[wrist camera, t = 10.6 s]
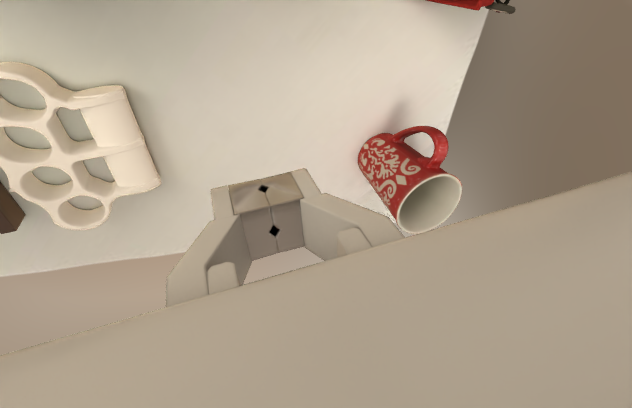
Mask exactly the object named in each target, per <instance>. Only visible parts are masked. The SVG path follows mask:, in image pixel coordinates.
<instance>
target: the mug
mask: <svg viewBox="0 0 632 408" xmlns="http://www.w3.org/2000/svg"><path fill="white" fill-rule="evenodd" d="M419 132H424V133H427V134H428V135H429V136H430V137H431V138H432V140H433V142H434V147H435V149H434V154H433V156H432V157H431V158H428V157H424V156H423V155H421V154H420V153H419V152H417V151H416V150H414V149H413V148H411V147H410V146H409V145H407V144H406V143H404V139H405V138H406V137H408V136H410V135H413V134H416V133H419ZM447 152H448V141H447V138H446V136H445V135H444V134H443V133H442V132H441V131H440V130H438V129H436V128H434V127H430V126H416V127H411V128H408V129H405V130H402V131H400V132H398V133H396V134H394V135H393V134H389V133H382V134H378V135H376V136H374V137H372V138H371V139H369V140H368V141H367V142H366V143H365V144H364V146H363V147H362V149H361V150H360V153H359V156H358V165H359V168H360V170H361V171H362V173H363V174H364V176H365V177H366V178H367V180H368V181H369V183H370V184H371V185H372V187H373V188H374V190H375V191H376V193H377V194H378V195H379V197H380V198H381V200H382V201H383V202H384V204H385V205H386V207H387V208H388V210H389V211H390V212H391V214H392V215H393V217H394V218H395V219H396V222H397V225H398V226H399V227H400V229H402V230H403V231H405V232H407V233H411V234H418V233H423V232H426V231H429V230H432V229H433V228H435V227H437V226H438V225H440V224H442V223H443V222H444V221H445V220H446V219H447V218H448V217H449V216H450V215H451V214H452V213H453V212H454V210H455V209H456V207H457V206H458V204H459V202H460V199H461V196H462V184H461V182H460V180H459V179H458V178H457V177H456V176H454V175H452V174H448V173H447V172H445V171H444V170H443V169H441V168H440V164H441V163H442V162H443V160H444V159H445V157H446V155H447Z"/></svg>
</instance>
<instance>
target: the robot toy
mask: <svg viewBox="0 0 632 408" xmlns="http://www.w3.org/2000/svg"><path fill="white" fill-rule="evenodd" d="M427 1H432V2H437V3H442V4H447V5H452V6H457V7H462V8H467V9H473V10H480V8H481V7H483V6H485V8H487V9H490V10H495V11H496V12H503V13H509V14H512V13H514V12H515V8H514V7H512V6H509V5H507V4H508V3H509V1H510V0H506V1H505V2H504V3H502V2H501V1H500V0H496V2H497V3H495V2H494V0H427Z"/></svg>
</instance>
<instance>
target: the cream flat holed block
mask: <svg viewBox="0 0 632 408" xmlns="http://www.w3.org/2000/svg"><path fill="white" fill-rule="evenodd" d="M0 79H10V80H17V81H22V82H25V83H27V84H29V85H31V86H32V87H34V88H35V89H37V90H38V91H39V92H40V93H41V95H42V96H43V98H44V100H45V102H46V109H41V110H34V109H24V108H19V107H16V106H14V105H12V104H10V103H9V102H7V101H6V100H5V99H3V98H2V97H1V95H0V167H1V168H2V169H3V170H4V172H5V173H6V175H7V177H8V180H9V187H10V189H9V190H8V192H17V193H18V194H19V195H20V196H21V197H23V198H24V199H25V200H28V201H31V202H33V203H36V204H38V205H40V206H41V207H43V208H44V209H45V210H46V211H47V212H48V213H49V214H50V215H51V217H52V220H53V223H55V224H56V225H58V226H61V227H63V228H67V229H71V230H88V229H92V228H95V227H98V226H99V225H101V224H103V223H104V222H105V221H106V220H107V218H108V217H109V215H110V211H111V207H112V203H113V201H114V200H115V199H116V198H117V197H121V196H126V195H131V194H139V193H143V192H147V191H150V190H152V189H154V188H157V187H158V186H160V185H161V181H160V176H159V174H158V173H157V171H156V168H155V166H154V164H153V161H152V159H151V156H150V154H149V151H148V149H147V146H146V144H145V139H144V136H143V135H142V134H141V131H140V129H139V126H138V124H137V121H136V119H135V116H134V114H133V111H132V109H131V107H130V104H129V102H128V99H127V97H126V91H125V89H124V88H123V87H122V86H120V85H109V86H100V87H94V88H89V89H85V90H81V91H76V92H74V91H71V90H69V89H66V88H63V87H61V86H59V85H58V84H57V83H56V82H55V81H54V80H53V79H52V78H51V77H50V76H49V75H48V74H46V73H45V72H43V71H41V70H40V69H38V68H36V67H33V66H31V65H28V64H24V63H19V62H4V63H0ZM60 107H64V108H67V109H70V110H76V109H79V110H80V112H81V114H82V116H83V118H84V120H85V122H86V124H87V126H88V128H89V130H90V132H91V134H92V136H93V138H94V139H93V140H87V141H82V142H77V141H74V140H72V139H71V138H69V136H68V134H67V133H66V131H65V129H64V127H63V125H62V124H61V122H60V120H59V118H58V116H57V114H56V112H57V111H58V109H59V108H60ZM7 126H13V127H25V128H30V129H33V130H36V131H38V132H39V133H41V134H42V135H44V136H45V137H46V138H47V139H48V141H49V142H50V144H51V148H49V149H30V148H25V147H22V146H20V145H18V144H16V143H14V142H13V141H12V140H10V139H9V137H8V136H7V135H6V133H5V130H4V127H7ZM102 156H103V158H104V160H105V162H106V164H107V166H108V168H109V170H110V172H111V174H112V176H113V178H114V180H115V181H114V182H111V183H109V182H105V181H104V180H101V179H99V178H96V177H93V176H91V175H90V174H89V173H88V171H87V169H86V167H85V165H84V163H83V162H82V160H87V159H92V158H97V157H102ZM43 166H50V167H55V168H58V169H60V170H62V171H64V172H66V173H67V174H68V175H69V176H70V177H71V179H72V181H70V182H68V183H66V184H63V185H49V184H46V183H43V182H41V181H40V180H38V179H37V178H36V177H35V176H34V175H33V173H32V171H31V170H33V169H36V168H38V167H43ZM76 196H90V197H93V198H96V199H98V200H99V201H100V202H101V203H102V204H103V205H102V206H100V207H98V208H96V209H93V210H81V209H78V208H75V207H73V206H72V205H71V204H70V203H69V202H68V201H67V200H69V199H71V198H73V197H76Z"/></svg>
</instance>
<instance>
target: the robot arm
mask: <svg viewBox="0 0 632 408" xmlns="http://www.w3.org/2000/svg"><path fill="white" fill-rule="evenodd" d="M228 188H229V189H228ZM210 192H211V199H212V206H213V212H214V219H215V220H213V221H210V222H209V223H208V224H207V226H206V227H205V228H204V230H203V231H202V232H201V233H200V235H199V236H198V237H197V239H196V240H195V241H194V242H193V244H192V245H191V246H190V248H189V249H188V250H187V251H186V253H185V254H184V255H183V257H182V258H181V259H180V261H179V262H178V263H177V264H176V266H175V267H174V268H173V269H172V271H171V272H170V274H169V275H168V276H167V285H166V307H165V308H162V309H158V310H155V311H152V312H148V313H145V314H141V315H138V316H135V317H131V318H128V319H124V320H121V321H117V322H114V323H110V324H107V325H104V326H100V327H97V328H93V329H90V330H87V331H83V332H79V333H76V334H73V335H69V336H66V337H62V338H59V339H55V340H53V341H49V342H45V343H42V344H38V345H35V346H31V347H28V348H25V349H21V350H18V351H14V352H11V353H7V354H4V355H1V356H0V408H632V172H628V173H625V174H622V175H618V176H615V177H612V178H608V179H605V180H602V181H598V182H594V183H591V184H588V185H584V186H581V187H577V188H574V189H570V190H567V191H564V192H560V193H557V194H553V195H550V196H546V197H543V198H540V199H536V200H533V201H529V202H526V203H522V204H519V205H516V206H512V207H509V208H505V209H502V210H499V211H495V212H492V213H488V214H485V215H481V216H478V217H475V218H471V219H467V220H464V221H461V222H457V223H454V224H450V225H447V226H443V227H440V228H437V229H433V230H430V231H426V232H423V233H419V234H416V235H413V236H409V237H406V238H405V237H404V236H403V234H402V233H401V232H400V231H399V230H398V228H397V227H396V226H395V225H394V223H393V222H392V221H391V220H390V218H389V217H387V216H384V215H382V214H379V213H377V212H374V211H371V210H369V209H366V208H364V207H361V206H358V205H356V204H353V203H351V202H348V201H345V200H343V199H340V198H338V197H335V196H332V195H330V194H327V193H324V194H321V192H320V190H319V189H318V187H317V186H316V184H315V182H314V181H313V179H312V178H311V176H310V174H309V173H308V171H307V169H305V168H302V169H298V170H295V171H291V172H287V173H283V174H279V175H275V176H271V177H267V178H263V179H257V180H252V181H247V182H242V183H237V184H232V185H228V186H227V185H226V186H222V187H218V188H213V189H211V191H210ZM304 246H305V248H306V249H308V250H309V251H311V252H312V253H314V254H315V255H317V256H318V257H320V258H321V259H323V260H324V262H320V263H316V264H313V265H310V266H306V267H303V268H299V269H296V270H292V271H289V272H286V273H282V274H279V275H275V276H272V277H269V278H265V279H262V280H258V281H255V282H252V283H248V284H244V285H243V282H244V280H245V278H246V275H247V272H248V270H249V268H250V266H251V263H252V261H253V260H256V259H260V258H263V257H266V256H269V255H273V254H276V253H280V252H283V251H288V250H292V249H296V248H300V247H304Z"/></svg>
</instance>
